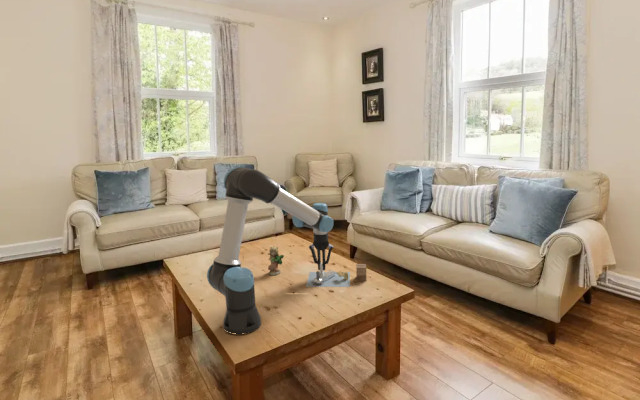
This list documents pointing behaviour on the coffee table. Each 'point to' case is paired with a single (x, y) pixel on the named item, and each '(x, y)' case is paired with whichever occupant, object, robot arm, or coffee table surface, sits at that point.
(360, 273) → the block
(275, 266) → the figurine
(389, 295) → the coffee table surface
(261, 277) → the coffee table surface
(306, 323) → the coffee table surface
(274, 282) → the coffee table surface
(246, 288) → the robot arm
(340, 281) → the board
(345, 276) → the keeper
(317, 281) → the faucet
